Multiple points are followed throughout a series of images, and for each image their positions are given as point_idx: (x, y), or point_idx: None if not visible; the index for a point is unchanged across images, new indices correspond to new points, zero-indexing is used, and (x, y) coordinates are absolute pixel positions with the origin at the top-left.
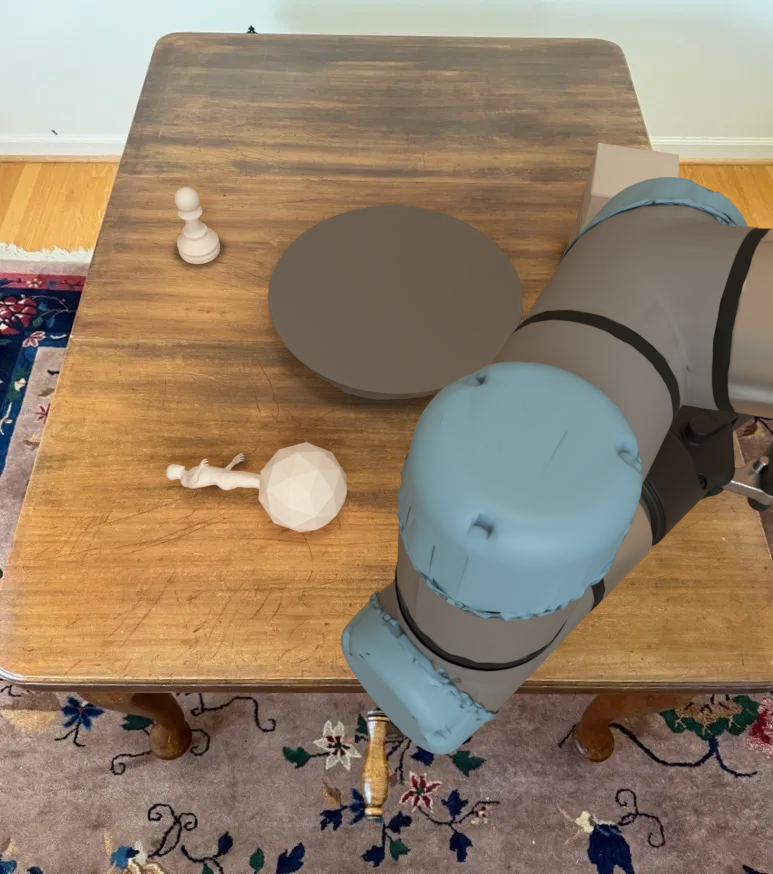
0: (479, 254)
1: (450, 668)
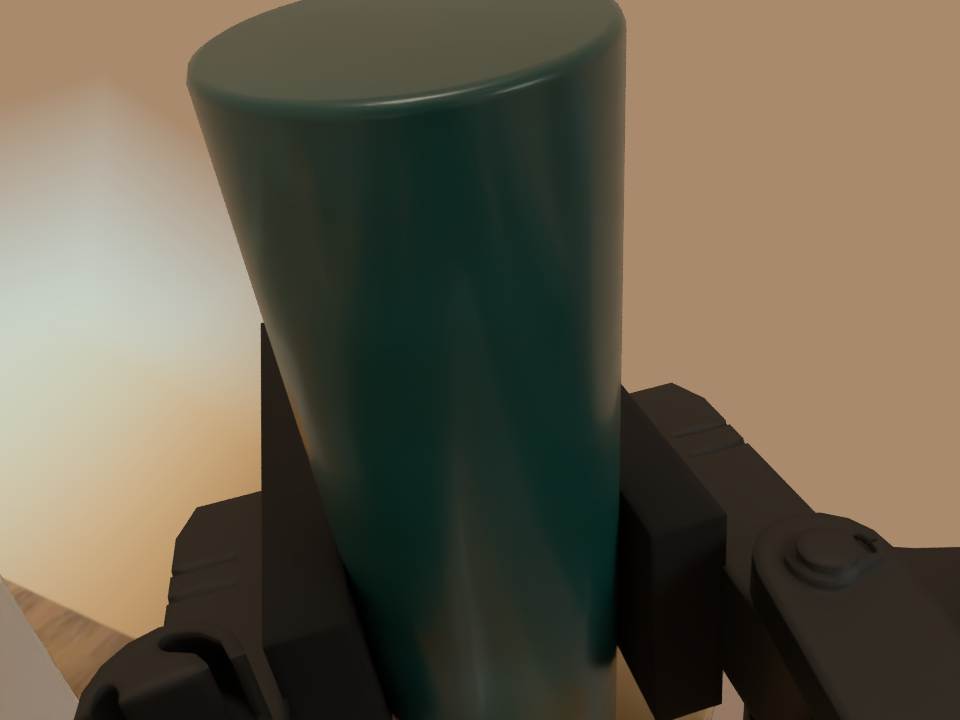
0: None
1: None
